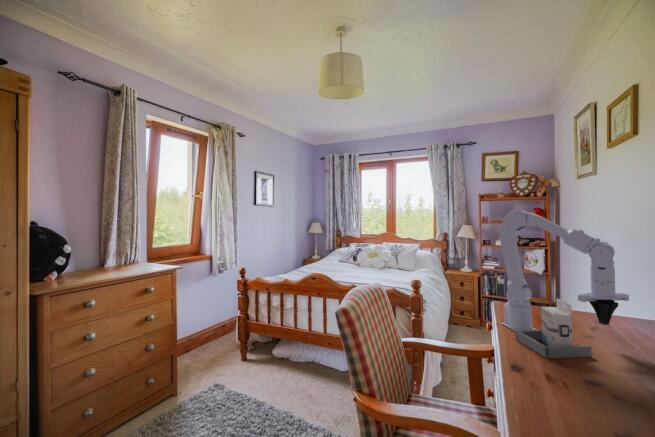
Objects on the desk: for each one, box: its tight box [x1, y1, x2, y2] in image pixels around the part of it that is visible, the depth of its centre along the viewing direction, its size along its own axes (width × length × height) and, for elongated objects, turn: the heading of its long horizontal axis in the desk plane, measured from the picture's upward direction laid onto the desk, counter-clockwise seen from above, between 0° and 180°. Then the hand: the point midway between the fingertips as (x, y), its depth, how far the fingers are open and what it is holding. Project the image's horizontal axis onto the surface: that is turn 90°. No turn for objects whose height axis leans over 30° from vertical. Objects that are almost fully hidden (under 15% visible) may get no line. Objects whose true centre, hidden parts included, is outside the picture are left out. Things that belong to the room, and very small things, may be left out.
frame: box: [515, 329, 593, 359], centre depth 96 cm, size 14×14×3 cm
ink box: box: [540, 298, 573, 346], centre depth 96 cm, size 9×5×15 cm, turn 168°
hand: (603, 323), depth 96 cm, fingers closed
